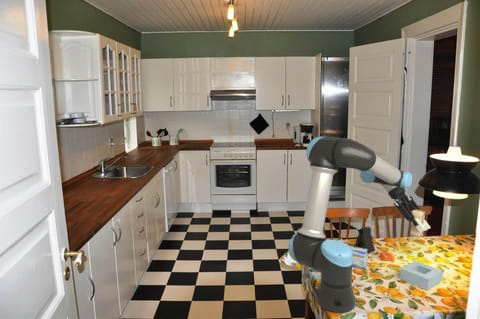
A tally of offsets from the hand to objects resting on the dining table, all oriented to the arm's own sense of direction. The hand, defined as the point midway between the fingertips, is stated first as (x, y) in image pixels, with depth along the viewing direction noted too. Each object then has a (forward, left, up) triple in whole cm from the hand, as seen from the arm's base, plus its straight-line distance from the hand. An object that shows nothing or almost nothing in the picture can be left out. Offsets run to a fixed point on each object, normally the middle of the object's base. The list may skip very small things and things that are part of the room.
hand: (425, 230), depth 163 cm
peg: (0, +4, -4) cm, 5 cm away
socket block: (-14, -6, -18) cm, 23 cm away
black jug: (-6, +28, -18) cm, 34 cm away
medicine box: (-24, +19, -18) cm, 35 cm away
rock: (-7, +15, -19) cm, 24 cm away
